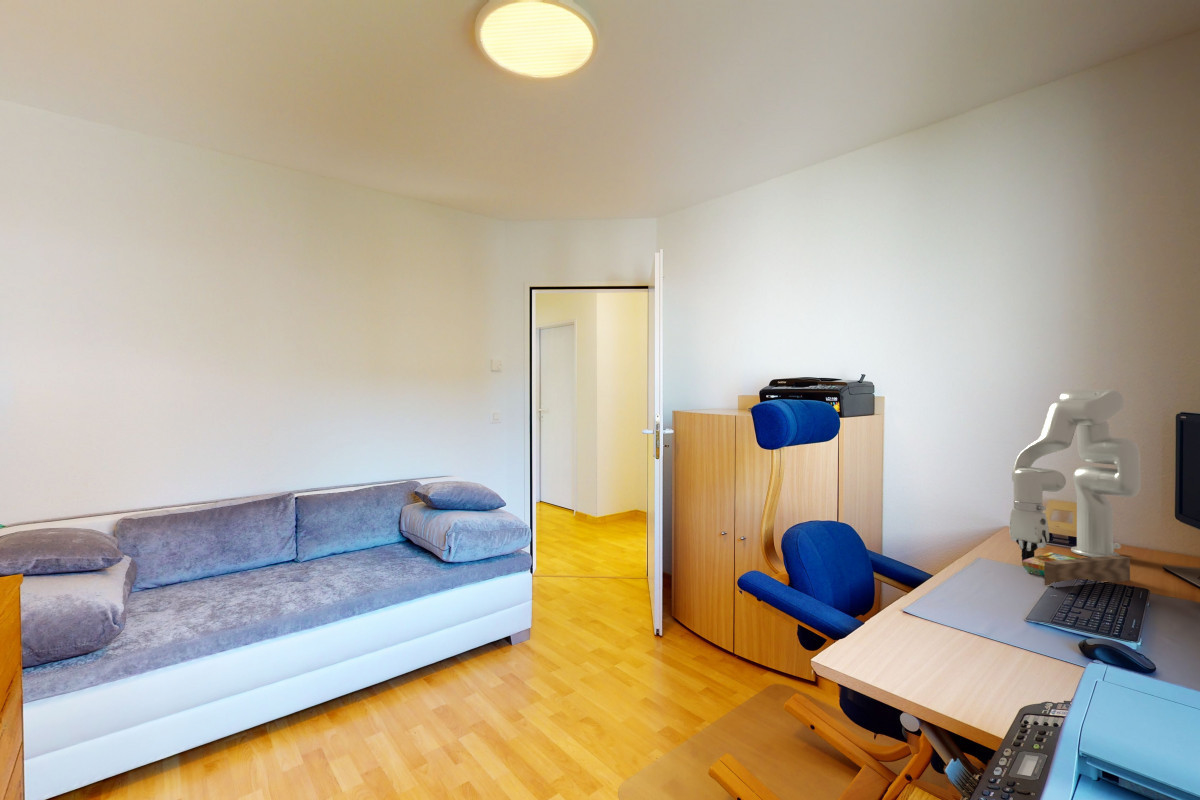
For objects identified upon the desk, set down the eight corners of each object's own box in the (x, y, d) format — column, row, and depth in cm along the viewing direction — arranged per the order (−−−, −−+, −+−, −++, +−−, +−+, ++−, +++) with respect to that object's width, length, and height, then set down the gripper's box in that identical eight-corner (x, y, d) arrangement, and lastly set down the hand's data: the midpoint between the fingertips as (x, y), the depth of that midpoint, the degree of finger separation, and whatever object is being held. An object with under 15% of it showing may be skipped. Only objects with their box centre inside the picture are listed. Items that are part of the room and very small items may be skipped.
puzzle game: (1022, 558, 169) (1049, 549, 179) (1022, 572, 169) (1049, 563, 179) (1068, 568, 159) (1095, 558, 168) (1068, 583, 159) (1095, 573, 168)
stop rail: (1118, 577, 164) (1118, 555, 164) (1129, 580, 161) (1129, 557, 161) (1044, 585, 156) (1044, 561, 156) (1055, 588, 153) (1055, 564, 153)
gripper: (1060, 510, 169) (1060, 567, 169) (1014, 502, 184) (1014, 554, 184) (1042, 511, 167) (1043, 569, 167) (997, 503, 182) (997, 556, 182)
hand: (1028, 561), depth 175 cm, fingers closed
